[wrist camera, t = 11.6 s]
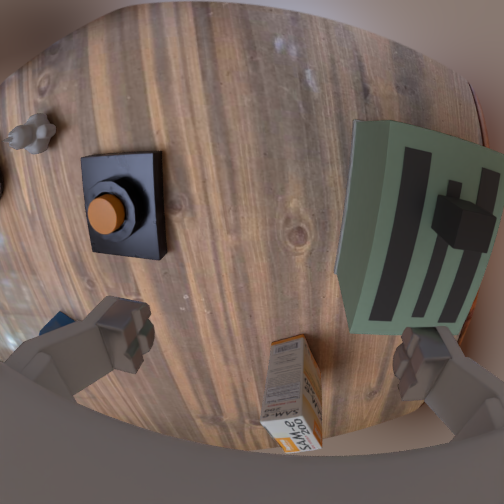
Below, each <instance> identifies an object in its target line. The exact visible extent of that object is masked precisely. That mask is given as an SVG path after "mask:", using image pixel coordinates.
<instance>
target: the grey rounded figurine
mask: <svg viewBox="0 0 504 504" xmlns="http://www.w3.org/2000/svg"><path fill="white" fill-rule="evenodd" d="M55 133H56V127H55V125H53V124H50V122H49V121H48V119H47V115H46V114H43V113H38V114H34V115H32V116H31V117H30V118H29V119H28V120H27V122H26V123H25V124H24V125H20V126H16V127H15V128H14V129H13V130H12V131H11V132H10V133H9V138H7V139H5V140H4V141H2V142H9V146H10V147H12V148H14V149H16V150H19V149H23V148H24V149H25V150H28V151H29V153H31V154H39V153H42V152H44V151H45V150H47V148H48V143H49V141H50V138H51V137H52V136H53V135H54V134H55Z"/></svg>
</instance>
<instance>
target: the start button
mask: <svg viewBox="0 0 504 504" xmlns="http://www.w3.org/2000/svg"><path fill="white" fill-rule="evenodd" d="M88 218H89V221H90V224H91V225H92V227H93V228H94V229H95V230H96V231H97V232H99V233H101V234H110V233H112V232H113V231H115V230H116V229H118V228H119V227H120V226H121V225H122V224H123V222H124V219H125V209H124V206H123V204H122V202H121V201H120V199H119V198H117V197H116V196H114V195H112V194H105V195H102V196H100V197H98V198H96V199H94V200H93V201H92V202H91V203H90V205H89V208H88Z"/></svg>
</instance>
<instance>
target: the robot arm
mask: <svg viewBox="0 0 504 504" xmlns="http://www.w3.org/2000/svg"><path fill="white" fill-rule="evenodd" d="M150 315H151V311H150V307H149V305H148V304H147V303H144V302H139V301H134V300H129V299H124V298H119V297H114V296H106V297H105V298H104V299H103V300H102V301H101V302H100V303H99V304H98V305H97V306H96V307H95V308H94V309H93V310H92V311H91V312H90V313H89V314H88V316H87V317H86V318H85V319H84V320H83V321H79V320H78V321H76V322H73V323H71V324H68V325H66V326H63V327H61V328H58V329H55V330H53V331H50V332H48V333H45V334H43V335H40V336H37V337H35V338H32V339H30V340H27V341H25V342H23V343H22V344H21V345H20V346H19V347H18V348H17V349H16V350H15V351H14V352H13V354H12V355H11V356H10V357H9V358H8V359H7V360H6V361H5V362H4V363H3V362H1V361H0V504H504V382H503V381H502V380H500V379H499V378H498V377H496V376H495V375H493V374H492V373H491V372H489V371H488V370H486V369H485V368H483V367H482V366H481V365H479V364H478V363H476V362H475V361H473V360H472V359H471V358H469V357H466V358H465V356H464V354H463V352H462V351H461V349H460V347H459V345H458V343H457V342H456V340H455V338H454V336H453V335H452V333H451V331H450V330H449V328H448V327H446V326H433V327H406V328H405V330H404V331H403V333H402V336H401V338H402V341H403V343H402V344H400V345H399V346H398V347H397V348H396V351H395V353H394V357H393V371H394V375H395V376H396V377H397V378H398V379H399V380H400V382H399V384H398V389H399V393H400V396H401V400H402V401H413V400H424V401H425V402H426V403H427V404H428V406H429V407H430V408H431V409H432V410H433V411H434V412H435V414H436V415H437V416H438V417H439V418H440V419H441V420H442V421H443V422H444V424H445V425H446V426H447V427H448V428H449V429H450V430H451V431H452V432H453V433H454V435H455V437H454V438H453V439H452V440H451V441H450V442H449V443H445V444H440V445H436V446H430V447H425V448H420V449H413V450H406V451H399V452H391V453H381V454H370V455H353V456H300V455H282V454H270V453H259V452H251V451H244V450H237V449H230V448H224V447H219V446H213V445H208V444H203V443H198V442H193V441H189V440H185V439H181V438H177V437H173V436H169V435H165V434H161V433H158V432H154V431H151V430H148V429H144V428H141V427H138V426H135V425H132V424H129V423H126V422H123V421H120V420H118V419H115V418H112V417H109V416H107V415H104V414H102V413H99V412H97V411H94V410H92V409H89V408H87V407H85V406H82V405H80V404H78V403H77V402H76V400H75V398H74V397H73V395H75V394H76V393H78V392H80V391H81V390H83V389H84V388H86V387H88V386H89V385H91V384H92V383H94V382H95V381H97V380H99V379H100V378H102V377H103V376H105V375H106V374H108V373H110V372H111V371H113V370H114V369H117V370H121V371H124V372H128V373H132V374H136V373H137V371H138V369H139V368H140V366H141V364H142V363H143V361H144V359H143V356H142V355H143V354H145V353H147V352H149V351H150V349H151V348H152V346H153V342H154V338H155V330H154V325H153V324H152V323H151V321H150V320H149V319H148V318H149V317H150Z"/></svg>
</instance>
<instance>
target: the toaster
mask: <svg viewBox="0 0 504 504" xmlns="http://www.w3.org/2000/svg"><path fill="white" fill-rule="evenodd" d="M438 195H444V196H448V197H453V198H457V199H462V200H466V201H470V202H472V203H474V204H475V205H477V206H479V207H481V208H482V209H484V210H486V211H487V212H489V213H491V214H492V215H494V216H496V217H497V220H496V224H495V227H494V231H493V235H492V238H491V242H490V245H489V249H488V252H487V253H480V252H473V251H466V250H459V249H453V248H452V247H451V246H450V245H449V244H448V243H447V242H446V241H445V240H444V239H442V238H441V237H440V236H439V235H438V234H437V233H436V232H435V231H434V230H433V229H431V225H432V220H433V216H434V211H435V206H436V201H437V196H438ZM503 207H504V154H502V153H499V152H496V151H494V150H491V149H489V148H486V147H483V146H481V145H478V144H475V143H472V142H469V141H466V140H463V139H460V138H457V137H454V136H451V135H447V134H444V133H441V132H437V131H433V130H430V129H426V128H422V127H418V126H414V125H410V124H406V123H402V122H397V121H393V120H381V121H361V120H353V128H352V141H351V152H350V162H349V171H348V180H347V188H346V196H345V203H344V211H343V218H342V224H341V231H340V237H339V243H338V249H337V255H336V261H335V266H334V274H337V277H338V281H339V285H340V289H341V294H342V298H343V303H344V308H345V312H346V317H347V322H348V327H349V332H350V333H353V334H376V335H402V333H403V331H404V330H405V328H406V327H433V326H446V327H448V328H449V330H450V331H451V333H452V335H458V334H459V332H460V330H461V328H462V325H463V323H464V321H465V319H466V317H467V315H468V313H469V310H470V308H471V306H472V303H473V301H474V299H475V296H476V294H477V291H478V289H479V286H480V284H481V281H482V278H483V276H484V273H485V270H486V267H487V264H488V261H489V258H490V255H491V252H492V249H493V246H494V242H495V238H496V235H497V231H498V228H499V224H500V220H501V216H502V212H503Z"/></svg>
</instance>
